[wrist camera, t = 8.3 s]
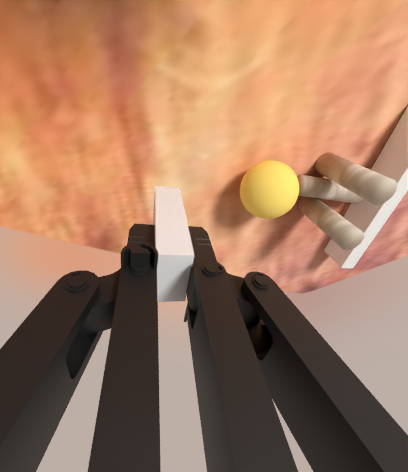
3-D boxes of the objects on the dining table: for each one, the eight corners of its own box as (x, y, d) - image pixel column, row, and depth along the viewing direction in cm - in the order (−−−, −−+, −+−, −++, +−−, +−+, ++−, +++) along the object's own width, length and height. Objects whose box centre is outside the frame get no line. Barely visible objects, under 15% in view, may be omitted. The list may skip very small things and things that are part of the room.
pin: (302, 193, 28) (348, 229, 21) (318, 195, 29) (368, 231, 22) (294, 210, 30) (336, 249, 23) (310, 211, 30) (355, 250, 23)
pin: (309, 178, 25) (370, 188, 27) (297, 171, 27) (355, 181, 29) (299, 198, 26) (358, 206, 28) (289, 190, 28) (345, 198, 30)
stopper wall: (410, 101, 24) (449, 105, 21) (424, 105, 25) (464, 109, 21) (323, 250, 35) (341, 267, 32) (334, 251, 35) (352, 268, 32)
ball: (304, 161, 24) (250, 148, 25) (314, 178, 19) (246, 162, 20) (284, 210, 28) (237, 198, 28) (288, 235, 23) (230, 220, 23)
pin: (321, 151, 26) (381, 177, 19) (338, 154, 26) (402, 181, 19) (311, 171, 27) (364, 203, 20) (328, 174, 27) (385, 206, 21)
